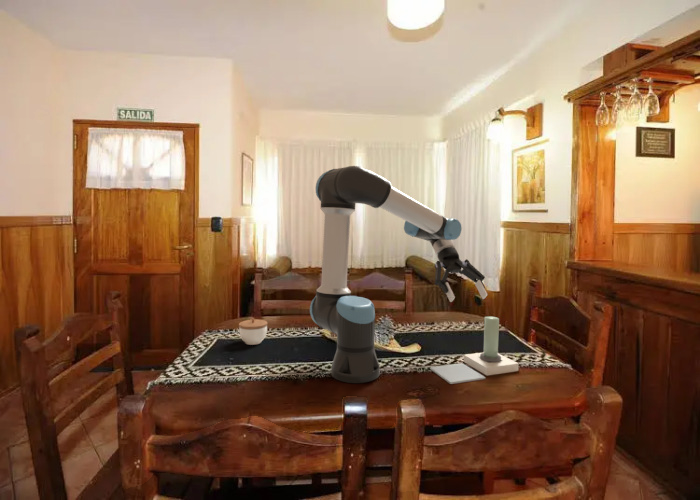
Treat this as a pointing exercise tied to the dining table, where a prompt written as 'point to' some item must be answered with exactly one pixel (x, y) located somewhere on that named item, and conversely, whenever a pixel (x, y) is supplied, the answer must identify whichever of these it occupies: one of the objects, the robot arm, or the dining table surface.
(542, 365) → the dining table surface
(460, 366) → the mat
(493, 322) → the candle in holder
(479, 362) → the socket block
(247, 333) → the lidded jar
